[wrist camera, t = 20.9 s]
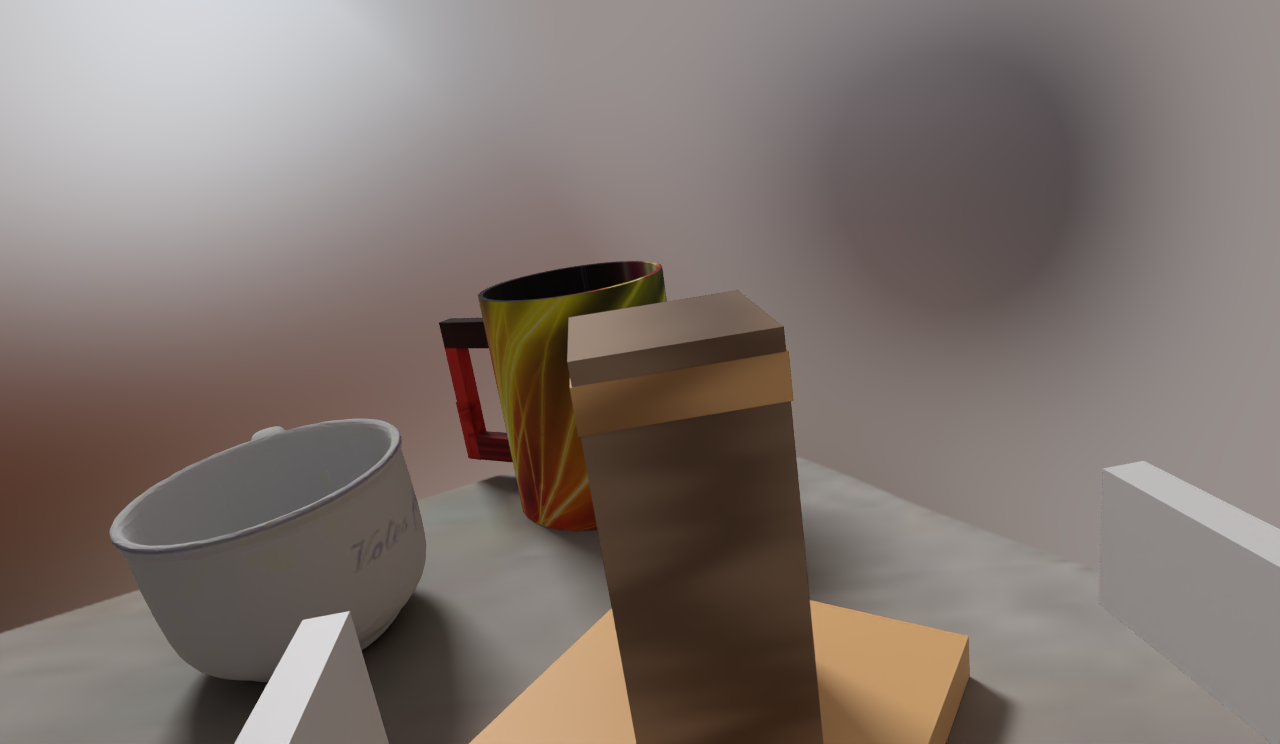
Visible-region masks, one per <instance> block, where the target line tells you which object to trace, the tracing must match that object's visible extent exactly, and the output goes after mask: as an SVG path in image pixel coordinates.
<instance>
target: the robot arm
mask: <svg viewBox="0 0 1280 744" xmlns="http://www.w3.org/2000/svg"><path fill="white" fill-rule="evenodd" d="M1102 481H1103V482H1102V516H1101V553H1100V554H1101V555H1100V588H1099V604H1100V605H1101V606H1102V607H1103V608H1105V609H1106V610H1107V611H1108V612H1109V613H1111V614H1112V615H1113V616H1114V617H1116V618H1117V619H1118V620H1119V621H1121V622H1122V623H1123V624H1124V625H1126V626H1127V627H1128V628H1129V629H1130V630H1132V631H1133V632H1134V633H1135V634H1137V635H1138V636H1139V637H1140V638H1142V639H1143V640H1144V641H1145V642H1147V643H1148V644H1149V645H1150V646H1151V647H1153V648H1154V649H1155V650H1156V651H1158V652H1159V653H1160V654H1161V655H1163V656H1164V657H1165V658H1166V659H1168V660H1169V661H1170V662H1171V663H1172V664H1174V665H1175V666H1176V667H1177V668H1179V669H1180V670H1181V671H1182V672H1184V673H1185V674H1186V675H1187V676H1189V677H1190V678H1191V679H1192V680H1193V681H1195V682H1196V683H1197V684H1198V685H1200V686H1201V687H1202V688H1203V689H1205V690H1206V691H1207V692H1208V693H1210V694H1211V695H1212V696H1213V697H1214V698H1216V699H1217V700H1218V701H1219V702H1221V703H1222V704H1223V705H1224V706H1226V707H1227V708H1228V709H1229V710H1231V711H1232V712H1233V713H1234V714H1235V715H1237V716H1238V717H1239V718H1240V719H1242V720H1243V721H1244V722H1245V723H1247V724H1248V725H1249V726H1250V727H1252V728H1253V729H1254V730H1255V731H1256V732H1258V733H1259V734H1260V735H1261V736H1263V737H1264V738H1265V739H1266V740H1268V741H1269V742H1270V743H1271V744H1280V529H1278V528H1275V527H1274V526H1272V525H1270V524H1268V523H1266V522H1264V521H1262V520H1260V519H1258V518H1256V517H1254V516H1252V515H1250V514H1248V513H1246V512H1244V511H1242V510H1240V509H1238V508H1236V507H1234V506H1232V505H1230V504H1228V503H1226V502H1224V501H1222V500H1220V499H1218V498H1216V497H1214V496H1212V495H1210V494H1208V493H1206V492H1204V491H1202V490H1200V489H1198V488H1197V487H1194V486H1193V485H1191V484H1188V483H1186V482H1185V481H1183V480H1180V479H1179V478H1177V477H1175V476H1173V475H1170V474H1168V473H1167V472H1165V471H1163V470H1161V469H1159V468H1157V467H1155V466H1153V465H1151V464H1148V463H1147V462H1145V461H1141V462H1135V463H1130V464H1125V465H1119V466H1114V467H1109V468H1103V480H1102ZM234 744H389V742H388V739H387V736H386V732H385V729H384V725H383V722H382V719H381V715H380V712H379V708H378V705H377V702H376V698H375V695H374V691H373V688H372V685H371V681H370V678H369V675H368V671H367V668H366V664H365V661H364V658H363V654H362V651H361V647H360V644H359V641H358V637H357V634H356V630H355V627H354V624H353V620H352V617H351V613H350V611H347V612H342V613H337V614H332V615H326V616H321V617H316V618H310V619H305V620H302V622H301V624H300V626H299V628H298V629H297V631H296V633H295V635H294V637H293V638H292V640H291V642H290V644H289V646H288V647H287V649H286V651H285V653H284V655H283V657H282V658H281V660H280V662H279V664H278V666H277V667H276V669H275V671H274V673H273V675H272V676H271V678H270V680H269V682H268V684H267V685H266V687H265V689H264V691H263V693H262V695H261V696H260V698H259V700H258V702H257V704H256V705H255V707H254V709H253V711H252V713H251V714H250V716H249V718H248V720H247V722H246V723H245V725H244V727H243V729H242V731H241V733H240V734H239V736H238V738H237V740H236V742H235V743H234Z"/></svg>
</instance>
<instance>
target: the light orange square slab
mask: <svg viewBox="0 0 1280 744" xmlns="http://www.w3.org/2000/svg"><path fill="white" fill-rule="evenodd" d="M810 608H811V618H812V629H813V639H814V650H815V660H816V671H817V681H818V692H819V702H820V713H821V723H822V734H823V744H946V742H947V739H948V736H949V733H950V731H951V728H952V725H953V722H954V719H955V716H956V713H957V710H958V708H959V705H960V702H961V699H962V696H963V693H964V690H965V687H966V685H967V682H968V679H969V676H970V667H969V636H966V635H961V634H957V633H952V632H948V631H944V630H939V629H935V628H930V627H926V626H922V625H917V624H913V623H909V622H904V621H900V620H895V619H891V618H887V617H882V616H878V615H873V614H869V613H865V612H860V611H856V610H851V609H847V608H843V607H838V606H834V605H829V604H825V603H821V602H816V601H812V600H810ZM469 744H636V739H635V734H634V728H633V723H632V717H631V712H630V706H629V701H628V695H627V689H626V684H625V678H624V673H623V667H622V662H621V656H620V651H619V645H618V640H617V634H616V629H615V623H614V618H613V612H612V608H611V609H610V610H609V611H608V612H607V613H606V614H605V615H604V616H603V617H602V618H601V619H600V620H598V621H597V622H596V623H595V624H594V625H593V626H592V627H591V628H590V629H589V630H588V631H587V632H586V633H585V634H584V635H583V636H582V637H581V638H580V639H578V640H577V641H576V642H575V643H574V644H573V645H572V646H571V647H570V648H569V649H568V650H567V651H566V652H565V653H564V654H563V655H562V656H561V657H559V658H558V659H557V660H556V661H555V662H554V663H553V664H552V665H551V666H550V667H549V668H548V669H547V670H546V671H545V672H544V673H543V674H542V675H541V676H539V677H538V678H537V679H536V680H535V681H534V682H533V683H532V684H531V685H530V686H529V687H528V688H527V689H526V690H525V691H524V692H523V693H522V694H521V695H519V696H518V697H517V698H516V699H515V700H514V701H513V702H512V703H511V704H510V705H509V706H508V707H507V708H506V709H505V710H504V711H503V712H502V713H501V714H499V715H498V716H497V717H496V718H495V719H494V720H493V721H492V722H491V723H490V724H489V725H488V726H487V727H486V728H485V729H484V730H483V731H482V732H480V733H479V734H478V735H477V736H476V737H475V738H474V739H473V740H472V741H471V742H470V743H469Z"/></svg>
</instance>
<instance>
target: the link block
mask: <svg viewBox="0 0 1280 744" xmlns="http://www.w3.org/2000/svg"><path fill="white" fill-rule="evenodd" d="M567 363H568V369H569V374H570V393H571V398H572V404H573V409H574V415H575V420H576V426H577V431H578V437H580V436H581V441H582V446H583V452H584V457H585V463H586V468H587V474H588V479H589V485H590V491H591V496H592V502H593V507H594V513H595V518H596V524H597V529H598V535H599V540H600V546H601V551H602V557H603V562H604V568H605V573H606V579H607V584H608V590H609V596H610V601H611V607H612V612H613V618H614V623H615V629H616V634H617V640H618V645H619V651H620V656H621V662H622V667H623V673H624V678H625V684H626V689H627V695H628V701H629V706H630V712H631V717H632V723H633V728H634V734H635V739H636V744H823V734H822V723H821V713H820V702H819V692H818V681H817V671H816V660H815V650H814V639H813V629H812V618H811V608H810V597H809V587H808V576H807V566H806V555H805V545H804V534H803V524H802V513H801V503H800V492H799V482H798V471H797V461H796V451H795V440H794V430H793V419H792V408H791V401H793V392H792V380H791V370H790V359H789V352H788V351H787V350H786V345H785V335H784V326H782V325H781V324H780V323H779V322H777V321H776V320H775V319H774V318H772V317H771V316H770V315H769V314H767V313H766V312H765V311H764V310H762V309H761V308H760V307H758V306H757V305H756V304H755V303H754V302H752V301H751V300H750V299H748V298H747V297H746V296H745V295H743V294H742V293H741V292H740V291H738V290H736V291H730V292H724V293H717V294H711V295H705V296H699V297H692V298H686V299H680V300H674V301H668V302H662V303H655V304H649V305H643V306H637V307H631V308H625V309H618V310H612V311H606V312H600V313H594V314H587V315H581V316H575V317H569V320H568V353H567Z"/></svg>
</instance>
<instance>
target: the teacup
mask: <svg viewBox="0 0 1280 744" xmlns="http://www.w3.org/2000/svg"><path fill="white" fill-rule="evenodd" d="M401 441H402V440H401V436H400V433H399V431H398V430H397V429H396V427H395V426H392V425H390V424H389V423H387V422H383V421H380V420H372V419H347V420H335V421H327V422H322V423H317V424H312V425H306V426H302V427H298V428H295V429H291V430H286V431H285V430H284V429H283V428H281V427H271V428H267V429H264V430H261V431H259V432H257V433H255V434H254V435H253V437H252V440H251V441H250V442H247V443H244V444H241V445H238V446H235V447H233V448H230V449H228V450H225V451H223V452H220V453H217V454H214V455H213V456H211V457H208V458H206V459H204V460H201V461H199V462H197V463H194V464H192V465H190V466H188V467H186V468H184V469H183V470H181V471H179V472H176V473H174V474H173V475H172V476H171V477H169V478H167V479H165V480H163V481H161V482H159V483H158V484H156V485H154V486H152V487H151V488H150V489H148V490H147V491H146V492H144V493H143V494H141V495H140V496H138V497H137V498H136V499H135V500H133V501H132V502H131V503H130V504H129V505H128V506H127V507H126V508H125V509H124V510H122V511H121V512H120V514H119V515H118V516H117V517H116V518H115V520H114V522H113V524H112V526H111V529H110V536H111V540H112V543H113V545H114V546H115V547H116V548H117V549H118V550H119V551H120V552H122V554H123V555H124V557H125V559H126V561H127V564H128V566H129V568H130V570H131V572H132V574H133V576H134V578H135V581H136V582H137V585H138V587H139V589H140V591H141V593H142V595H143V597H144V599H145V601H146V603H147V605H148V607H149V608H150V610H151V612H152V614H153V616H154V618H155V620H156V621H157V623H158V625H159V627H160V628H161V630H162V632H163V633H164V635H165V637H166V638H167V640H168V641H169V643H170V644H171V646H172V647H173V648H174V650H175V651H176V652H177V653H178V655H179V656H180V657H181V658H182V659H183V660H184V661H186V662H187V663H188V664H189V665H191V666H192V667H194V668H195V669H197V670H198V671H200V672H203V673H205V674H208V675H211V676H214V677H218V678H222V679H229V680H252V681H258V682H269V680H270V678H271V676H272V675H273V673H274V671H275V669H276V667H277V666H278V664H279V662H280V660H281V658H282V657H283V655H284V653H285V651H286V649H287V647H288V646H289V644H290V642H291V640H292V638H293V637H294V635H295V633H296V631H297V629H298V628H299V626H300V624H301V622H302V620H305V619H310V618H316V617H321V616H326V615H332V614H337V613H342V612H347V611H350V613H351V617H352V620H353V624H354V627H355V630H356V634H357V637H358V641H359V644H360V647H361V651H362V650H363V649H365V648H366V647H368V646H369V645H370V644H371V643H373V642H374V641H375V640H376V639H377V638H378V637H379V636H380V635H382V634H383V633H384V632H385V630H386V629H387V628H388V627H389V626H390V625H391V623H392V622H393V621H394V620H395V618H396V617H397V615H398V613H399V612H400V610H401V608H402V607H403V606H404V605H405V604H406V602H407V601H408V599H409V598H410V597H411V595H412V593H413V592H414V590H415V589H416V587H417V585H418V583H419V581H420V578H421V576H422V573H423V569H424V565H425V560H426V540H425V532H424V528H423V523H422V518H421V514H420V510H419V506H418V502H417V499H416V495H415V493H414V489H413V485H412V482H411V478H410V475H409V472H408V469H407V465H406V462H405V459H404V456H403V453H402V450H401V444H402V443H401Z"/></svg>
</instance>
